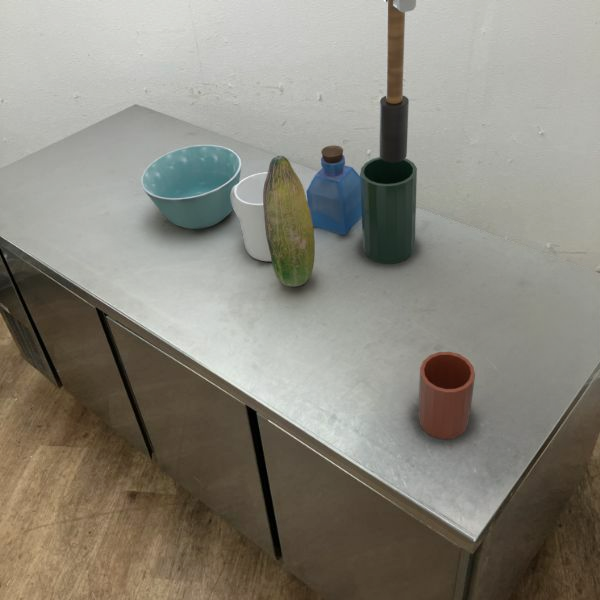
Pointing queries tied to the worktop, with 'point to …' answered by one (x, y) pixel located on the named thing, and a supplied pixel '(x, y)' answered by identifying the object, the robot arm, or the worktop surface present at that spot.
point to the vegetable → (288, 224)
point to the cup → (388, 209)
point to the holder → (445, 394)
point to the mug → (252, 214)
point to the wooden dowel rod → (394, 92)
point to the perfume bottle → (335, 193)
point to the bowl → (193, 184)
